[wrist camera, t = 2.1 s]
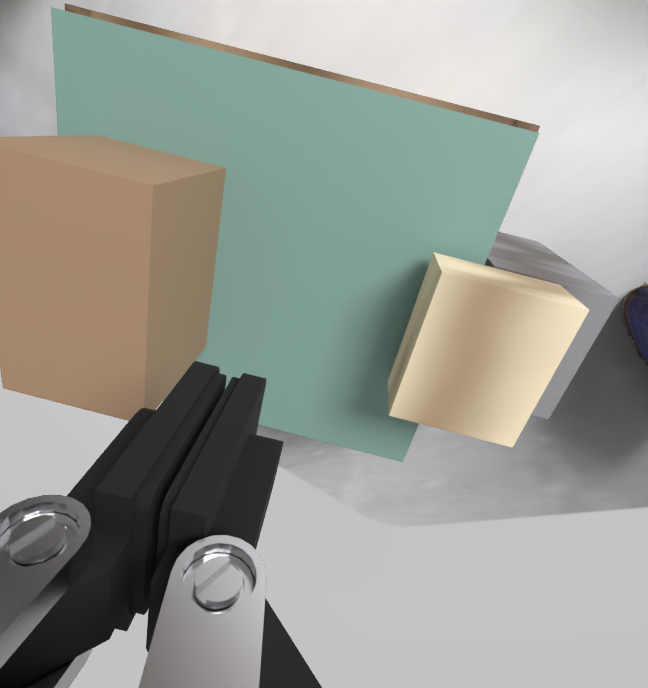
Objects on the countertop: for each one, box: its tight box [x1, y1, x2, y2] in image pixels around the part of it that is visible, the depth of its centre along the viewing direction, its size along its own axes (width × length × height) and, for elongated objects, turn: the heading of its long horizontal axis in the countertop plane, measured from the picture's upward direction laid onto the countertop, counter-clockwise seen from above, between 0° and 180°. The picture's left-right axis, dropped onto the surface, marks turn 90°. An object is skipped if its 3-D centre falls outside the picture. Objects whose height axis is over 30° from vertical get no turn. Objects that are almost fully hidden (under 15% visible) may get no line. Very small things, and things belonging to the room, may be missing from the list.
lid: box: [0, 7, 539, 462], centre depth 16 cm, size 17×15×7 cm
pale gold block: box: [388, 252, 589, 448], centre depth 17 cm, size 5×6×3 cm
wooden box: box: [65, 4, 619, 419], centre depth 22 cm, size 23×16×10 cm
